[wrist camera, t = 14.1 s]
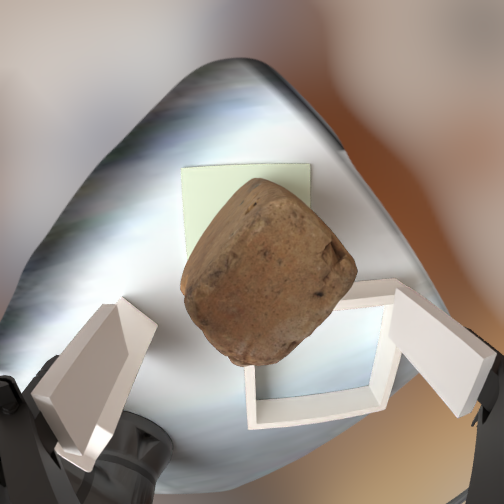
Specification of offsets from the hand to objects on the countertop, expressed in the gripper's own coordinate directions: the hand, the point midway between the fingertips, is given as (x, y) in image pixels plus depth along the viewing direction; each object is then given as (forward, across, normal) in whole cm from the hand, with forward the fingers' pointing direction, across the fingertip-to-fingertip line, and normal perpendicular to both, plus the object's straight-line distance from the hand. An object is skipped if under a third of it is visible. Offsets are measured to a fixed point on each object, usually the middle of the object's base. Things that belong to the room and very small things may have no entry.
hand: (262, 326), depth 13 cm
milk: (+22, -15, -12) cm, 29 cm away
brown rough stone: (+21, 0, 0) cm, 21 cm away
